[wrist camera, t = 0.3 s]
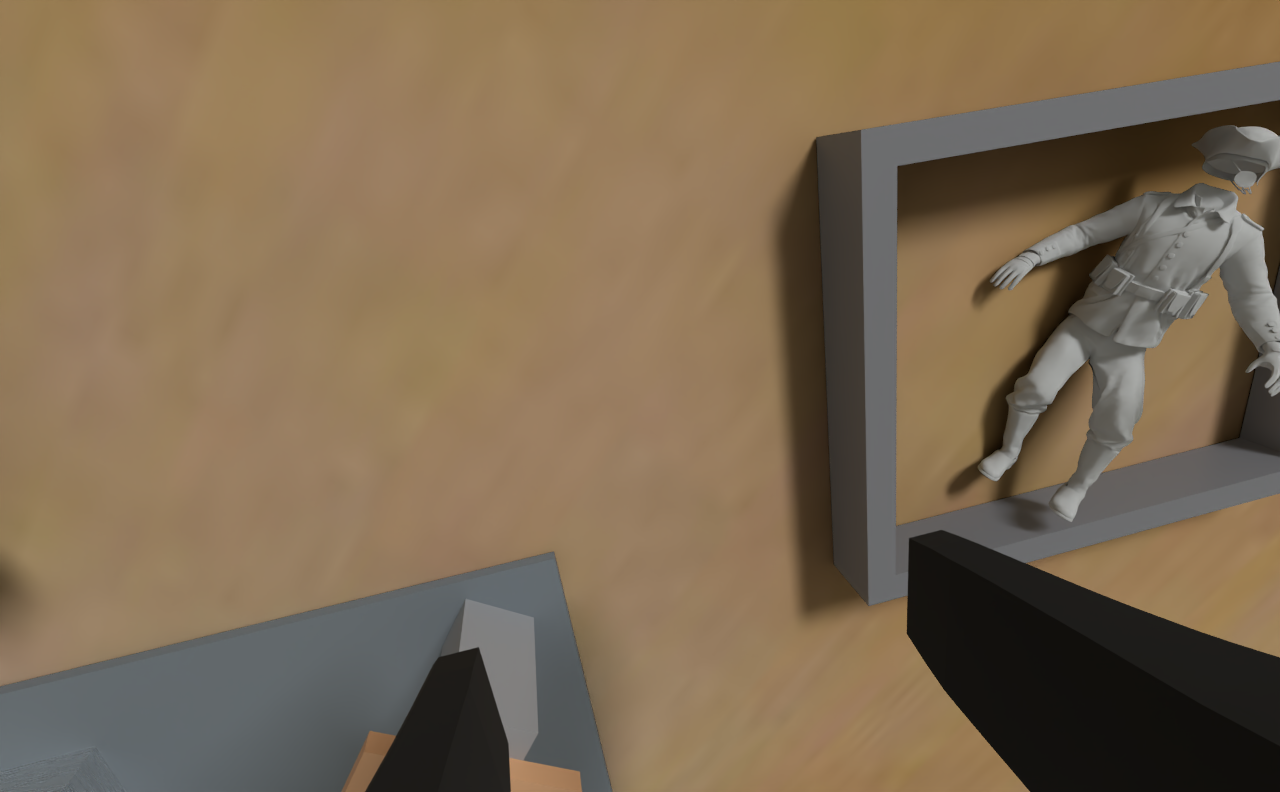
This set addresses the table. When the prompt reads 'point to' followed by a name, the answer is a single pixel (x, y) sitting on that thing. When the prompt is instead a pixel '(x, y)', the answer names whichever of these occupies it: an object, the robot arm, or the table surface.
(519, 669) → the keeper
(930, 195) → the table surface
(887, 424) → the figure stand rim
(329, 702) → the board
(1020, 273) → the soldier figure
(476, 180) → the table surface
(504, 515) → the table surface
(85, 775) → the link
